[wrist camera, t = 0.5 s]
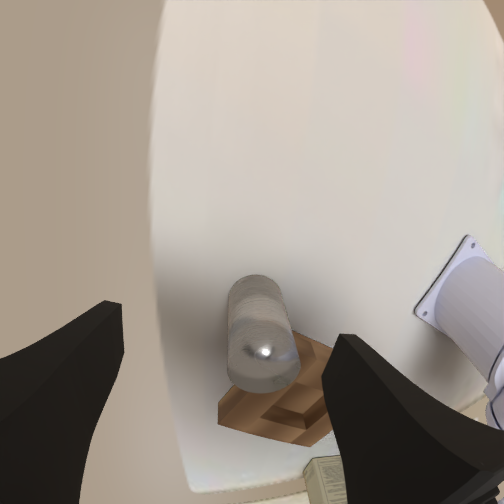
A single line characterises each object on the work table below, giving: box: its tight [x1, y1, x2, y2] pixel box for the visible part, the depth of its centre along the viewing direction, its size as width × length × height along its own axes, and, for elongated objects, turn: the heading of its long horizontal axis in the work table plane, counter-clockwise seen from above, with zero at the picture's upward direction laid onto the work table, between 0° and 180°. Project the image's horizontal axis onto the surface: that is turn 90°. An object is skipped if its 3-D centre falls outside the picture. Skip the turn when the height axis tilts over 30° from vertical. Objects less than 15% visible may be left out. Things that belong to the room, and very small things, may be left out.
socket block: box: [218, 331, 333, 447], centre depth 23 cm, size 10×10×2 cm
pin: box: [227, 275, 301, 393], centre depth 17 cm, size 4×4×7 cm
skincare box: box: [303, 455, 347, 504], centre depth 25 cm, size 6×4×12 cm
